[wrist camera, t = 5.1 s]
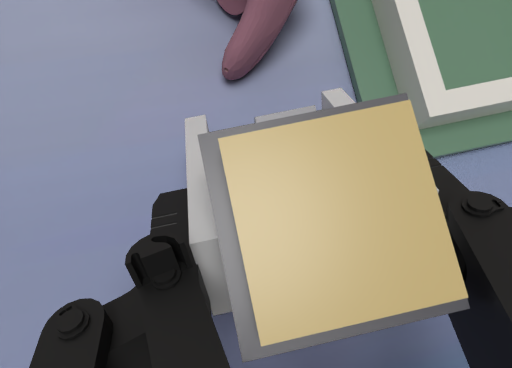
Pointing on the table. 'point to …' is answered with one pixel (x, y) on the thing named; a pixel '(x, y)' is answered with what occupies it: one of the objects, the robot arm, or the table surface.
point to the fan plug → (329, 225)
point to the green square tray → (435, 65)
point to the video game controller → (252, 32)
